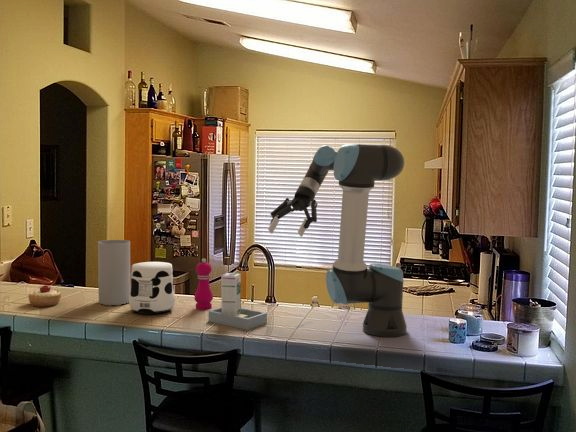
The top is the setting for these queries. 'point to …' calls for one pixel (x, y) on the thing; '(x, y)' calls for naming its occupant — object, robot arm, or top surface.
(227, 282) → the syrup box
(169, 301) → the milk container
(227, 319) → the tray
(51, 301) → the pastry
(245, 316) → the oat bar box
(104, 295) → the cylinder vase
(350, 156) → the robot arm
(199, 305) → the pepper mill
